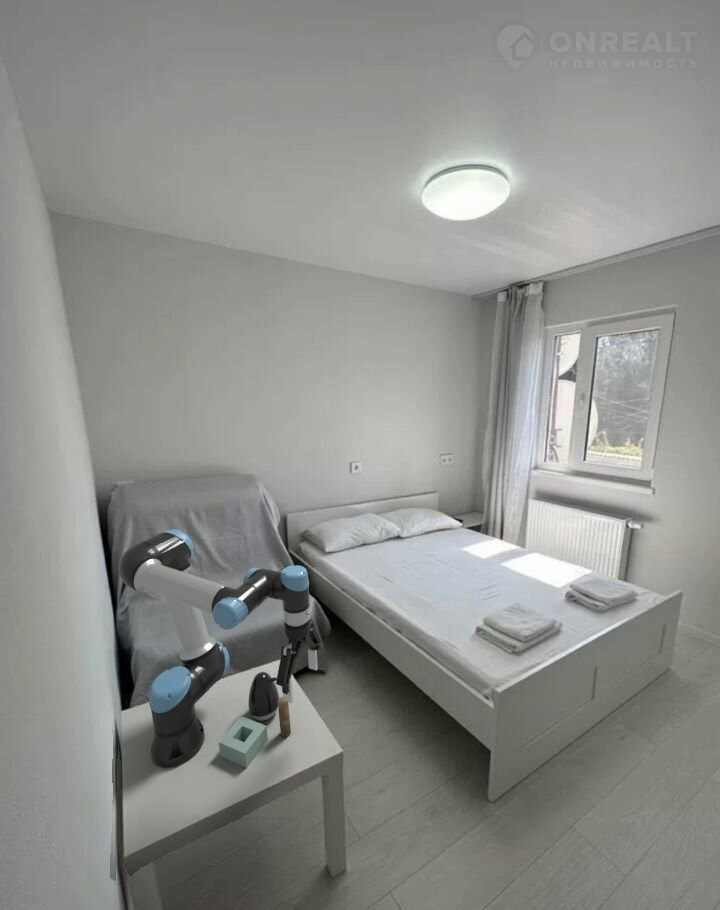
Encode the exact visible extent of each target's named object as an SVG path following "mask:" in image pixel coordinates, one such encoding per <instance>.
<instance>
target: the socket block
mask: <svg viewBox="0 0 720 910" xmlns="http://www.w3.org/2000/svg"><path fill="white" fill-rule="evenodd" d="M268 740H269V737H268V728H267V725H265V724H263V723H260V722H257V721H255V720H252V719H249V718H247V717H244V716H240V717H239V718H238V719H237V720H236V721H235V723H234V724H233V725H232V726H231V727H230V728H229V730H228V731H227V732H226V733H225V734H224V735H223V736H222V737H221V739H220V740H219V741H218V746H219V747H218V748H219V756H220V757H221V758H223V759H226V760H229V761H230V762H233V763H235V764H237V765H240V766H242V767H244V768H247V769H248V768H249V766H250V765H251V763H252V762H253V761H254V759H255V757H256V756H257V755H258V753H259V752H260V750H262V748H263V747H264V746H265V744H266V743H267V741H268Z"/></svg>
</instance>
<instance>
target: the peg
mask: <svg viewBox="0 0 720 910" xmlns="http://www.w3.org/2000/svg"><path fill="white" fill-rule="evenodd" d="M277 711H278V719H279V720H278V721H279V729H280V731H279V732H280V736H281V738H282V739H283V738H285V739H286V738H289V737H290V736H291V734H292V730H291V729H292V728H291V720H290V719H291V718H290V708H289V702H287V701H285V700H284V699H283V696H281V697H279V700H278V708H277Z"/></svg>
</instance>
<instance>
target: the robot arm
mask: <svg viewBox="0 0 720 910" xmlns="http://www.w3.org/2000/svg"><path fill="white" fill-rule="evenodd" d="M194 550H195V549H194V544H193V541H192V539H190V537H189V536H188V534H186V533H185V532H183V530H182V531H181V530H179V529H169V530H165V531H163V532H159V533H158V534H156V535H153V536H151V537H149V538H148V539H145V540H143V541H141V542H139V543H136V544H133V545H132V546H130V547H128V548H127V550H126V551H125V552H124V553H122V554H123V555H122V556H121V558H120V560H119V563H118V574H119V576H120V579H121V581H122V582H123V583H124V584H125V585H126V586H127V587H128V588H130V589H132V590H134V591H136V592H139V593H147V592H151V593H153V594H156V595H159V596H161V597H164V598H165V600H166V604H167V606H168V609H169V613H170V615H171V618H172V621H173V624H174V627H175V630H176V634H177V636H178V639H179V642H180V646H181V648H182V650H181V653H180V655H179V659H180V661H181V666H180V665H179V666H173V667H171V668H170V669H166V670H164V671H162V672H161V673H160V674H159V675H158V676H157V677H155V679H154V680H153V681H152V684H151V685H150V687H149V691H148V697H149V698H148V699H149V700H148V702H149V703H148V704H149V707H150V711H151V717H152V722H153V723H152V724H153V729H154V732H153V733H154V734H153V740H152V742H151V747H150V753H151V759H152V762H153V763H154V764H155V765H156V766H157V767H160V768H164V769H167V768H168V769H169V768H170V769H171V768H174V767H178V766H181V765H182V764H185V763H186V762H188V761H189V760H190V759H192V758H193V757H194V756H195V755H197V754H198V752H199V751H201V750H200V749H201V748H202V746H203V745H204V742H205V736H206V735H205V728H204V725H203V723H202V722H201V720H200V719H199V717H198V716H197V714H196V707H195V705H196V703H198V701H200V700H201V698H203V696H204V695H205V694H206V693H207V692H208V691H210V689H211V688H213V686H214V685H215V684H216V683H217V682H219V681H220V680H221V679H222V677H223V676H224V674H226V673H227V671H228V669H229V667H230V655H229V651H228V650H227V647H225V646H224V644H223V643H222V642H221V641H218V640H216V638H214V637H211V636H210V635H209V632H208V628H207V625H206V623H205V619H204V617H203V613H202V611H204V612H206V613H209V614H212V618H213V621H214V623H215V624H216V625H219V627H220V628H221V629H223V630H231V629H234V628H236V627H237V626H238V625H239V624H241V623H242V622H244V621H245V620H246V618H247V617H249V616H250V615H251V614H252V613H253V612H254V611H255V610H257V608H259V607H260V606H261V605H262V604H263V603H264V602H266V601H267V600H268V599H273V600H279V601H281V602H282V610H283V611H282V612H283V621H284V622H283V624H284V633H285V636H286V637H287V638H288V642H287V645H286V646H284V645H283V646H281V649H280V653H281V654H280V660H279V663H278V665H279V666H278V671H277V676H276V678H277V680H276V681H275V685H276V686H279V687H281V692H282V697H283V699H284V700H285V701H287V702H288V703H290V704H292V703H293V702H294V697H293V696H294V695H293V694H294V693H293V683H292V680H291V678H292V675H293V671H294V668H295V665H296V661H297V658H299V656H300V654H301V651H302V649H303V648H304V647H305V646H306V647H308V649H307V656H308V661H307V662H308V669H310V670H314V671H318V668H319V667H318V651H319V650H320V649H321V646H320V644H321V639H320V638H321V637H320V636H319V634H318V632H317V630H316V627H315V623H314V622H311V620H312V619H311V607H310V606H311V604H310V589H309V588H310V587H309V586H310V580H309V575H308V571H307V568H305V567H304V566H302V565H298V564H297V565H289V566H286V567H284V568H283V569H282V570H281V571H277V570H272V569H267V568H264V567H263V568H261V567H252V568H250V569H248V570H247V571H246V574H245V575H244V576H243V580H242V584H241V585H240V586H238V587H237V588H234V587H230V586H227V585H224V584H221V583H218V582H215V581H212V580H208V579H206V578H203V577H200V576H197V575H193V574H191V573H189V571H190V568H191V567H192V564H191V561H190V559H191V557H192V556H193V555H194V554H193V553H194ZM293 652H294V653H293Z"/></svg>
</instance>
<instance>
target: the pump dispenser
mask: <svg viewBox="0 0 720 910" xmlns="http://www.w3.org/2000/svg"><path fill="white" fill-rule="evenodd" d="M252 679H253V680H252V682H251V684H250V689H249V694H248V705H247V707H248V711H249V714H250V715H251V716H252V717H253V718H254V719H256V720H257V721H266V720H269V719H271V718H272V717H274V715H275V714H276V713H277V711H278V700H279V698H280V695H279V691H278V687H277V684H276V680H277V676H275V677H272V676H271V675H270V673H268V672H265V671H260V672H258V673H257V674H256V675H255V676H254V677H253V678H252Z"/></svg>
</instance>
